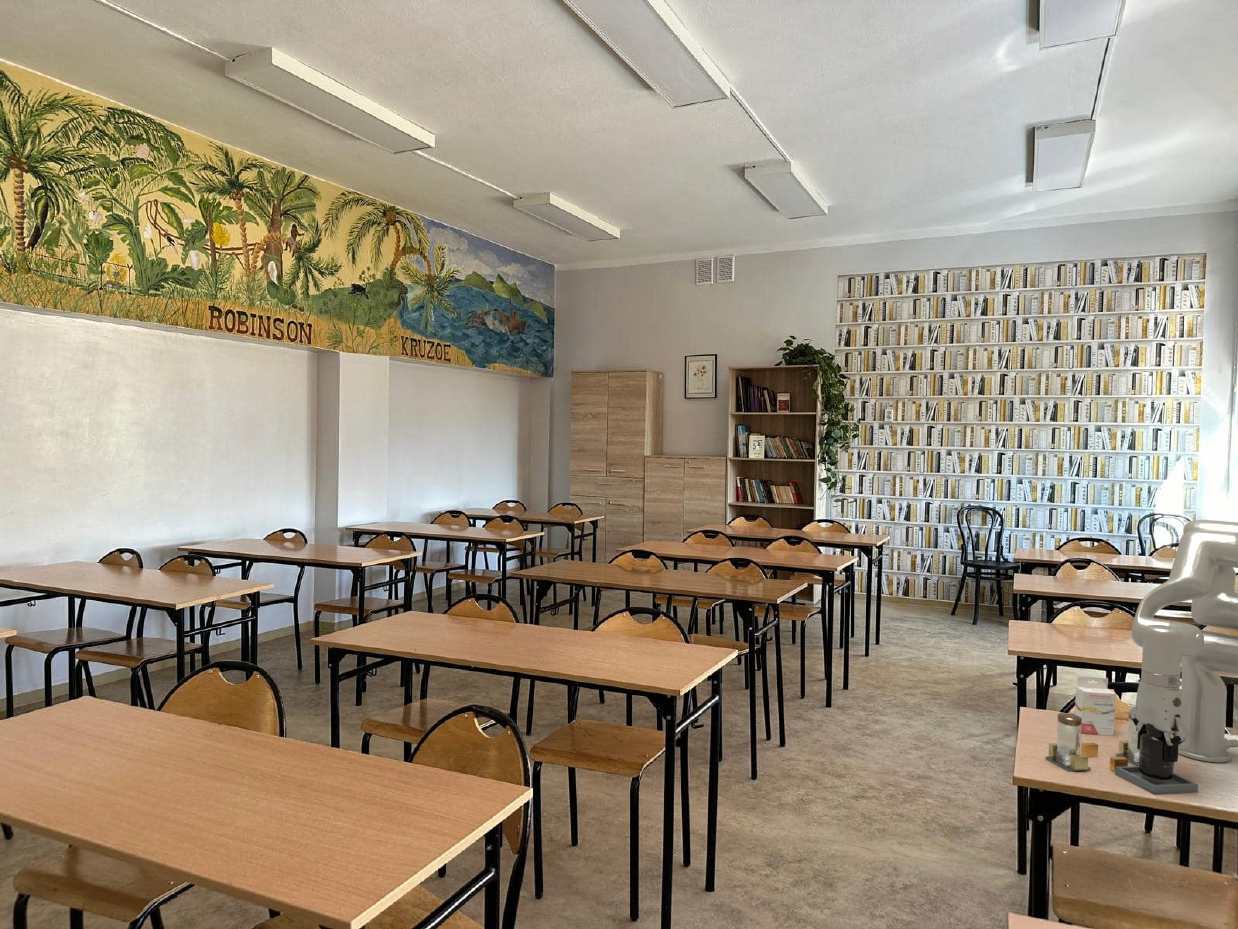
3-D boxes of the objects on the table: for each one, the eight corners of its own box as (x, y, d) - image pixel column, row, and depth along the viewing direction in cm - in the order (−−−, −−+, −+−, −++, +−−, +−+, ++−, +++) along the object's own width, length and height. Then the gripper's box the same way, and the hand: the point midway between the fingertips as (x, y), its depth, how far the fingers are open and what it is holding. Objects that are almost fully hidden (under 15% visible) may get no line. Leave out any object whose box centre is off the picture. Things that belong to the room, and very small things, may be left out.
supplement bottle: (1174, 783, 188) (1177, 731, 188) (1139, 777, 191) (1141, 725, 191) (1172, 773, 194) (1174, 722, 194) (1137, 767, 197) (1140, 717, 197)
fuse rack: (1131, 753, 212) (1134, 707, 212) (1167, 769, 201) (1169, 721, 201) (1041, 756, 208) (1043, 709, 207) (1072, 774, 197) (1075, 724, 196)
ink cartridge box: (1081, 734, 226) (1083, 680, 225) (1073, 728, 231) (1075, 675, 230) (1114, 736, 225) (1117, 682, 225) (1105, 730, 230) (1108, 677, 230)
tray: (1156, 772, 199) (1157, 765, 199) (1197, 792, 188) (1198, 784, 188) (1115, 774, 197) (1115, 767, 197) (1154, 794, 186) (1154, 786, 186)
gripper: (1207, 690, 184) (1203, 769, 185) (1144, 668, 201) (1141, 741, 202) (1178, 690, 183) (1174, 771, 184) (1117, 669, 200) (1114, 742, 201)
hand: (1157, 754), depth 193 cm, fingers closed on supplement bottle, 6 cm apart
